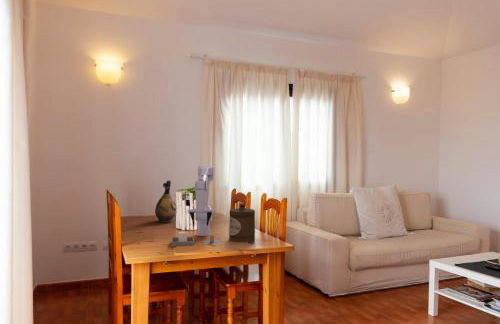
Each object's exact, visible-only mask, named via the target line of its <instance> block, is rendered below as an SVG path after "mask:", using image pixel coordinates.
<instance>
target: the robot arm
mask: <svg viewBox="0 0 500 324" xmlns="http://www.w3.org/2000/svg"><path fill="white" fill-rule="evenodd" d="M197 175H198V176H197V180H196V181H194V189H195V190H194V191H195V193H194V194H195V208H193V209H187V214H189V216H190V219H191V222H192V227H195V221H196V222H197V233H195V235H196V236H201V237H207V236H210V235H211V233H210V228H211V227H210V225H211V223H210V222H212V221H213V214H215V213H214V211H215V209H214V208H211V206H209V196H210V185H211V182H212V181H214V178H215V166H214V165H198V166H197Z"/></svg>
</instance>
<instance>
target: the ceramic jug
mask: <svg viewBox="0 0 500 324" xmlns="http://www.w3.org/2000/svg"><path fill="white" fill-rule="evenodd" d="M171 182H172V181H171V180H167V181H166V182H163V184H162V187H163V188H164V193H163V194H162V196H161V197H160V198H159V200H158V201H157V202H156V205H155V208H154V215H155V217H156V218H157V220H158V223H159V222H160V223H171V222H172V221H173V219H174V218H175V217H176V214H177V211H176V209H177V205H176V201H175V200H174V198H173V197H172V195H171V193H170V189H171V184H172V183H171Z"/></svg>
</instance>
